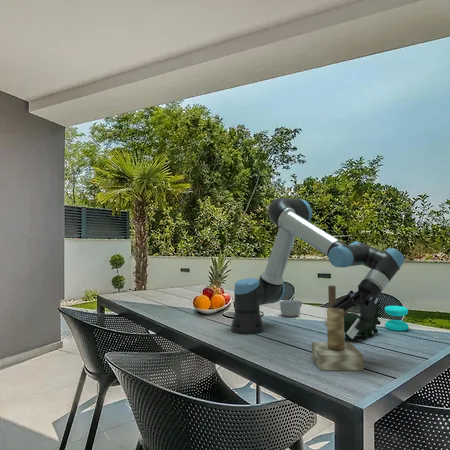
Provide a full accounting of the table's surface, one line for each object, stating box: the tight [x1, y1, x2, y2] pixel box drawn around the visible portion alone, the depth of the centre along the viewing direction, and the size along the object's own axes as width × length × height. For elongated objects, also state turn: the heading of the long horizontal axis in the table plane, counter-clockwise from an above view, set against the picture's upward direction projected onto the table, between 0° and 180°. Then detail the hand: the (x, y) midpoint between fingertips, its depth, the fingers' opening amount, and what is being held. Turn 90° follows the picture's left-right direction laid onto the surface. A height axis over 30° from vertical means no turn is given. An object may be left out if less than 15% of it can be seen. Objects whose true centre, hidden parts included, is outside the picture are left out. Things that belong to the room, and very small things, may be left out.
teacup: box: [279, 299, 303, 318], centre depth 205 cm, size 14×11×8 cm
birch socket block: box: [311, 341, 364, 371], centre depth 130 cm, size 14×14×5 cm
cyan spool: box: [384, 305, 409, 332], centre depth 174 cm, size 10×10×10 cm
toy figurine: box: [344, 301, 382, 341], centre depth 161 cm, size 9×19×25 cm
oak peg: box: [326, 307, 345, 351], centre depth 130 cm, size 6×6×18 cm
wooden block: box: [327, 285, 349, 315], centre depth 187 cm, size 4×11×18 cm, turn 29°
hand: (337, 331), depth 130 cm, fingers open, 13 cm apart
